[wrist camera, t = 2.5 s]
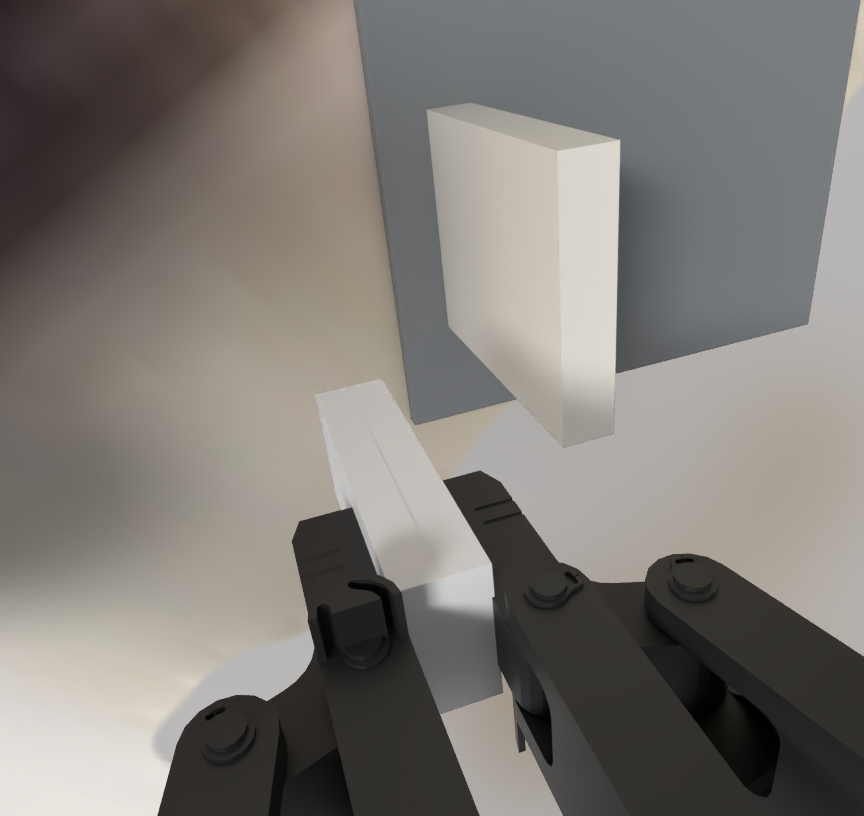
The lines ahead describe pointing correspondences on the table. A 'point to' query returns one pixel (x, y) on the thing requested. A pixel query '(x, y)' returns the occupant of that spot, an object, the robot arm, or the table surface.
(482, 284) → the tile
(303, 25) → the table surface
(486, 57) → the mat
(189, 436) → the table surface
